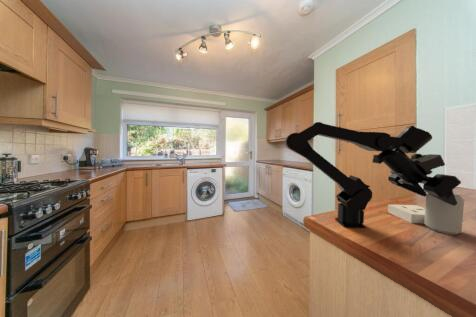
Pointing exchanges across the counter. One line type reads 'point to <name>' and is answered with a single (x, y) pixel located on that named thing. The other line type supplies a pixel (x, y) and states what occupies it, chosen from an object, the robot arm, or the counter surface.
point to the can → (444, 214)
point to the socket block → (408, 212)
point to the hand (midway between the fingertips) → (439, 199)
